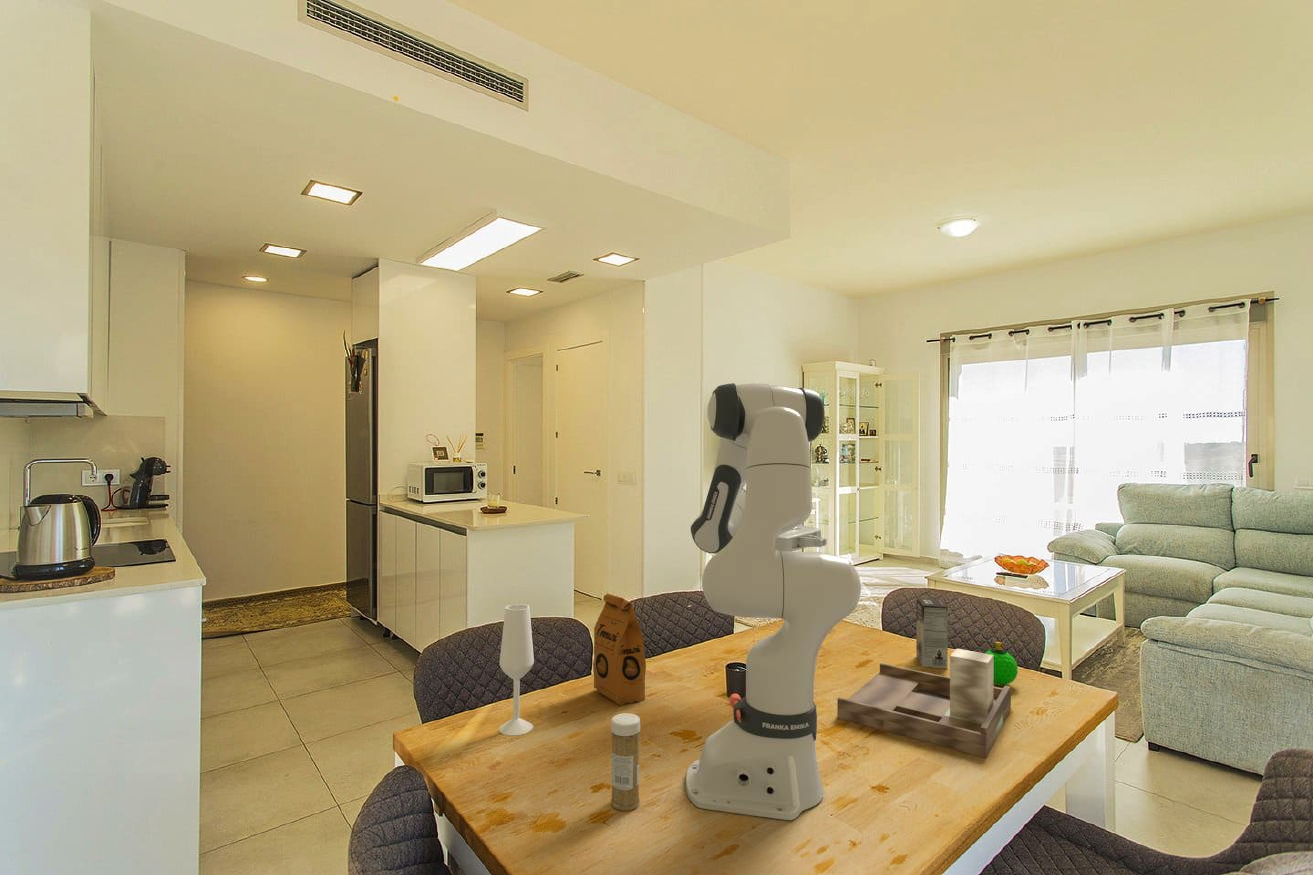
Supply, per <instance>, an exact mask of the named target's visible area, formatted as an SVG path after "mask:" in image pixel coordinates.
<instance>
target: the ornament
mask: <svg viewBox="0 0 1313 875" xmlns="http://www.w3.org/2000/svg"><path fill="white" fill-rule="evenodd" d="M1002 645H1003V643H1002V642H1001V641H995V648H991V649H990V650H988V651H986V652H984V653H985V654H990V655H994V661H993V685H996V686H1008V685H1009V684H1010V683H1012V682H1014V680H1015V679H1017V675H1018V673H1019V672H1018V669H1019V668H1018V665H1017V664H1018V663H1017V661H1016V660H1015V658H1014V657H1013V656H1012V655H1011V653H1008V652H1007V651H1006V650H1004V649H1003V648H1002Z"/></svg>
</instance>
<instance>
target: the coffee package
mask: <svg viewBox="0 0 1313 875" xmlns="http://www.w3.org/2000/svg"><path fill="white" fill-rule="evenodd" d="M602 600H603V601H605V604H604V606H603V608H602V610H601V612H600V614H599V616H598V618H597V621H596V623H595V625H594V628H593V629H594V630H593V635H594V636H593V638H594V640H593V641H594V642H593V657H594V658H593V663H592V667H593V669H592V671H593V689H596V690H597V691H598V692H600V693H601V694H602V695H604V696H605V697H606V698H608V699H609V700H611V701H612V702H613V703H615V704H616V705H618V706H622V705H624V704H631V703H637V702H640V701H644V700H645V699H646V671H647V670H646V669H647V664H646V655H645V654H646V653H645V645H644V635H643V633H642V630H641V625H640V623H639V621H638V618H637V614H636V612H635V610H634V606H633V604H632V602H631V601H629V600H627V599H625V598H624V597H621V596H618V595H614V594H613V593H612V594H611V593H608V592H607V593H606V594H605V595H603V599H602Z"/></svg>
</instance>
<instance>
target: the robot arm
mask: <svg viewBox="0 0 1313 875" xmlns="http://www.w3.org/2000/svg"><path fill="white" fill-rule="evenodd" d="M707 404H708V405H707V409H706V412H707V419H708V422H709V426H710V430H711V431H712V432H713V433H714V434H715V435H716V436H718V437H720V439H719V445H718V449H717V450H718V451H717V455H716V460H715V463H714V470H713V473H712V474H713V475H712V479H711V482H710V485H709V489H708V492H707V495H706V499H705V502H704V506H703V509H702V510H701V512H700V513H699V515H698V517H697V518H695V519H694V522H693V523H692V524H691V526H690V534H691V537H692V540H693V541H694V544H695V546H697V548H699V549H700V550H701V551H703V552H704V553H709V554H714V555H713V556H712V557H711V558H710V559H709V560H708V562H707V564H706V566H705V568H704V569H703V573H702V578H701V579H702V580H701V587H702V592H703V595H704V598H705V600H706V602H707V604H708V605H709V606H710V607H711V609H712V610H713V611H714V612H717V613H719V614H720V613H721V614H724V615H730V616H733V617H737V618H738V617H739V618H753V619H754V618H755V619H780V620H783V623H782V625H781V627H780V628H778V630H777V631H776V632H775V633H773V634H771V635H768V636H767V637H764V638H762V639H760V640H758V641H757V642H756V643H755V644H753V645H752V647H751V648H750V649H749V651H748V653H747V655H746V659H745V663H746V664H745V667H746V668H745V696H744V697H742V698H741V696H740V695H739V694H738V693H732V694H730V696H729V699H728V700H729V701H728V702H729V705H730V707H731V708H732V709H733V712H732V713H733V720H731V721H729V722H727V724H725V725H724V726H722V727H721V728H719V729H718V730H716V731H715V732H713V733H711V734H710V735H709V736H708V737H707V738H706V739H705V741H704V743H703V746H702V748H701V753H700V756H699V759H697V760H695V761H693V762H692V763H691V764H690V765H689V766H688V769H687V772H686V777H685V790H686V793H687V797H688V798H689V799H690V801H691V802H692V803H693V804H694V805H695V807H697V808H699V809H705V810H711V811H719V812H725V813H726V812H727V813H732V814H741V815H746V816H747V815H748V816H754V817H755V816H756V817H761V818H762V817H763V818H770V819H776V820H777V819H778V820H783V821H784V820H785V821H792V820H795V819H797V818H798V817H799V815H800V814H801V813H802V812H804V811H805V810H808V809H811V808H812V807H815V806H816V805H818V804H819V803H820V802H821V801H822V799H823V797H824V795H825V794H824V793H825V792H824V788H823V784H822V779H821V776H820V771H819V767H818V766H819V765H818V759H817V751H816V742H815V741H816V740H817V733H818V711H817V705H816V704H815V700H814V699H815V692H814V691H815V676H816V675H815V674H816V667H817V660H818V655H819V651H820V649H821V646H822V645H823V643H824V641H825V639H826V637H827V636H828V635H829V633H830V632H832V630H833V629H834V628H835V626H836V625H838V624H839V623H840V622H841V621H842V620H844V619H846V618H847V617H848V616H850V615H851V614H852V612H854V610H855V609H856V607H857V606H858V603H859V601H860V598H861V593H862V584H861V579H860V576H859V573H858V571H857V568H855V566H854V564H852V562H851V561H850V560H849V559H848V558H847V557H843V556H838V555H835V554H830V553H826V552H820V551H799V550H802V549H805V548H813V547H814V548H823V547H825V546H827V538H825V537H822V531H821V529H819V528H816V527H814V526H813V527H812V526H807V525H802V524H804V523H805V522H806V521H807V520H808V519H809V518H810V516H811V514H812V511H813V493H812V491H813V490H812V489H813V488H812V467H811V465H812V463H811V461H812V460H811V451H810V444H809V442H813V441H815V440H816V439H817V438H818V437H819V436H820V435H821V433H822V431H823V427H824V423H825V418H826V412H825V405H824V400H823V399H822V397H821V396H820V395H819V393H818V391H815V390H813V389H809V388H805V387H799V388H796V387H795V388H794V387H790V386H784V385H773V384H771V385H770V384H769V383H745V384H744V383H741V384H736V383H733V382H732V383H724V384H720V385H718V386H717V387H715V389H714V390H713V391H712V393H711V396H710V399H709V401H708V403H707ZM744 487H745V488H744Z"/></svg>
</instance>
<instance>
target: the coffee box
mask: <svg viewBox="0 0 1313 875" xmlns="http://www.w3.org/2000/svg"><path fill="white" fill-rule="evenodd" d="M915 622H916V632H915V634H916V649H915V650H916V658H917V657H918V658H917V659H918V661H919V663H920V662H921V663H920V665H921V664H922V665H921V667H923V668H929V667H932V668H931V669H943V668H946V669H948V656H949V655H948V654H949V653H948V638H949V636H948V635H949V634H948V633H949V632H948V631H949V607H948V605H946V602H944V601H943V600H942V599H941V598H934V597H933V598H932V597H916V621H915ZM946 669H945V670H946Z"/></svg>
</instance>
